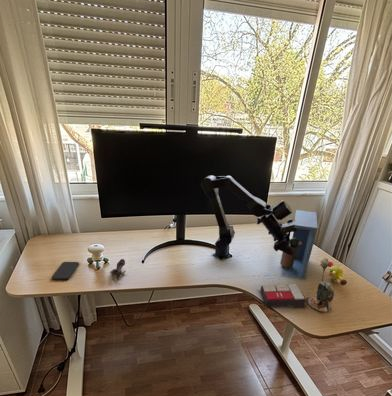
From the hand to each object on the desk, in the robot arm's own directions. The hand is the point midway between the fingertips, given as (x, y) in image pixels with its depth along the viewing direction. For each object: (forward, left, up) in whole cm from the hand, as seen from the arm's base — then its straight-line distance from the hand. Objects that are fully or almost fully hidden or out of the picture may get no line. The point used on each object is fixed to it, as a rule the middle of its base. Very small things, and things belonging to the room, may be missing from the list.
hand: (292, 252), depth 134 cm
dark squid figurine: (-69, +38, -8) cm, 79 cm away
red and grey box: (-24, -15, -8) cm, 29 cm away
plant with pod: (-16, -27, -8) cm, 32 cm away
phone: (-87, +54, -8) cm, 103 cm away
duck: (-1, +1, -7) cm, 7 cm away
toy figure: (+7, -19, -8) cm, 22 cm away
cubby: (+3, -1, -8) cm, 9 cm away
